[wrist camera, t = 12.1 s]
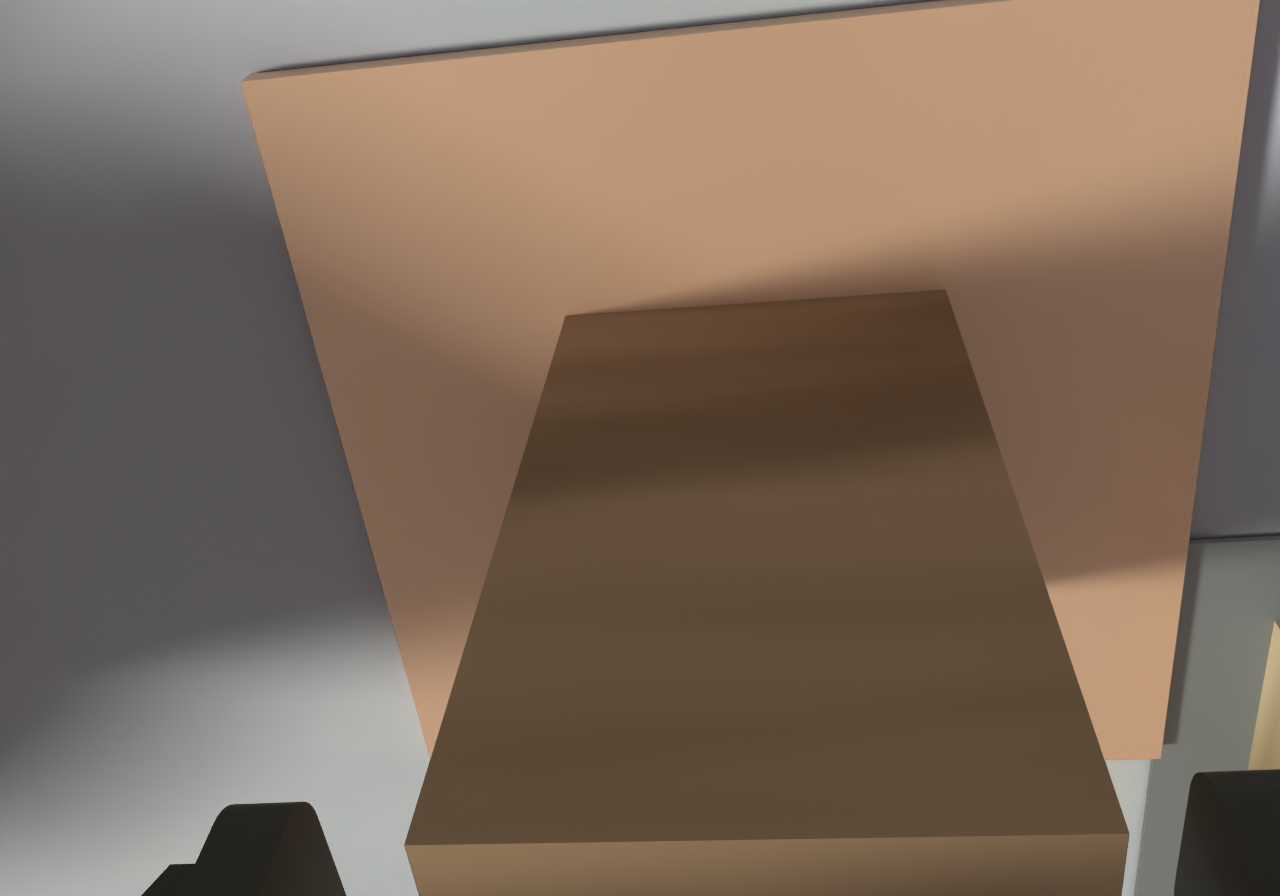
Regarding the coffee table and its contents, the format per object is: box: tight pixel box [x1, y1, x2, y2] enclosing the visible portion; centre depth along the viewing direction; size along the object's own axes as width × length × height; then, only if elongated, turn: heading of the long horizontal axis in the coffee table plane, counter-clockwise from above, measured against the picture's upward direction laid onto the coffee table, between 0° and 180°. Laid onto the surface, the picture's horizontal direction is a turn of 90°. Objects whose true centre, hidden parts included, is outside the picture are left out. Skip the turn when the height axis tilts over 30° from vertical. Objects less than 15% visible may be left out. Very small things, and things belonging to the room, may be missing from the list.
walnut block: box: [404, 290, 1129, 896], centre depth 14 cm, size 5×5×9 cm
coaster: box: [241, 0, 1260, 760], centre depth 18 cm, size 12×12×1 cm
